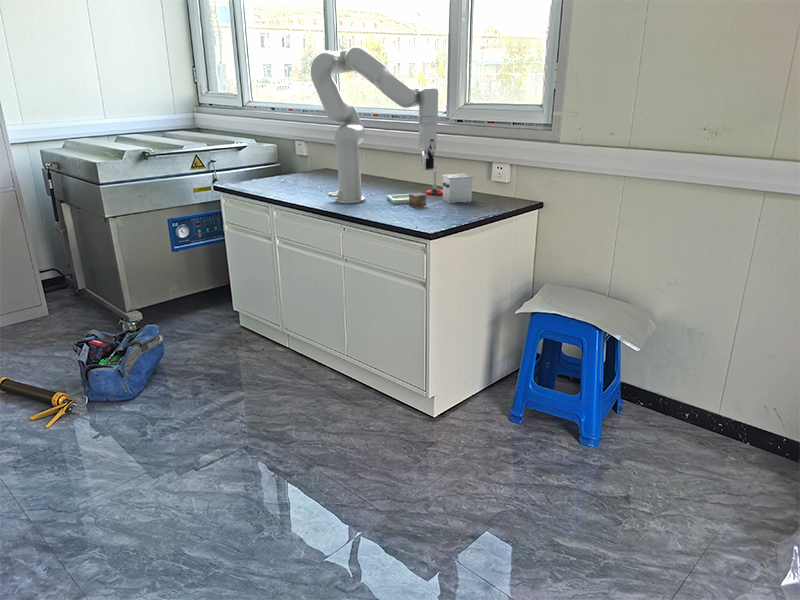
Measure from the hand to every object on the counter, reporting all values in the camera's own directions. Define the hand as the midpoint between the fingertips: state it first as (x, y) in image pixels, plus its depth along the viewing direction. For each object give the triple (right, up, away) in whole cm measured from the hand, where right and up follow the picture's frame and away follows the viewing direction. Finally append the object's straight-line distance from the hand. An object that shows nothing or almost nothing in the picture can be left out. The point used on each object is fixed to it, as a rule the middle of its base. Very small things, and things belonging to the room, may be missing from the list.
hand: (427, 167), depth 237 cm
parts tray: (-10, -12, +11) cm, 19 cm away
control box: (+13, -12, +10) cm, 20 cm away
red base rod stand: (+5, -6, +27) cm, 28 cm away
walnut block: (-4, -16, +1) cm, 16 cm away
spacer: (0, -1, 0) cm, 1 cm away
